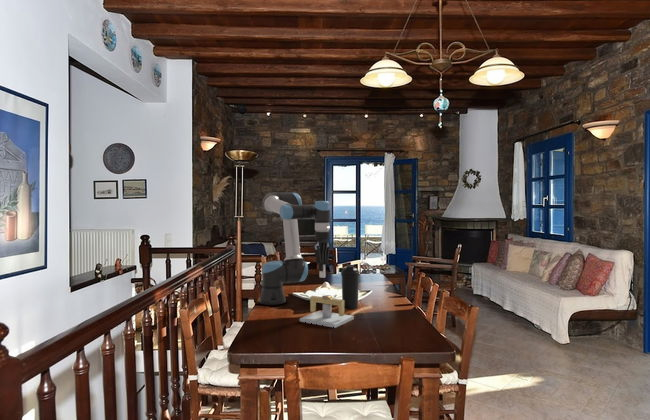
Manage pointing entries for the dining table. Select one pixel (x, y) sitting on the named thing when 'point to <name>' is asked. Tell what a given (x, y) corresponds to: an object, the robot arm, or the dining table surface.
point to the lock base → (328, 320)
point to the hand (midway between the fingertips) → (322, 277)
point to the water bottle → (350, 286)
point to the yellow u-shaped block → (326, 300)
